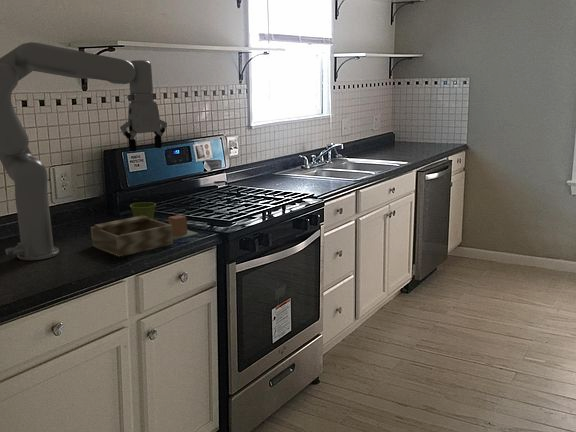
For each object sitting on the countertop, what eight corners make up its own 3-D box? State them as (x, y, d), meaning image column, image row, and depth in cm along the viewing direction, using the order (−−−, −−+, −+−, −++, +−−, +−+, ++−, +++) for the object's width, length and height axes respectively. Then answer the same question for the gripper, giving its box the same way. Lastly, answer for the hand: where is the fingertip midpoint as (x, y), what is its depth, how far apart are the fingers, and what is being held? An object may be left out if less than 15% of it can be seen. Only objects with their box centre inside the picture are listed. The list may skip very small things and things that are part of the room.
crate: (119, 256, 204) (117, 234, 203) (92, 246, 217) (90, 224, 216) (173, 244, 217) (171, 222, 216) (145, 234, 230) (143, 214, 229)
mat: (174, 240, 222) (174, 238, 222) (158, 234, 230) (158, 233, 229) (198, 234, 229) (198, 233, 229) (182, 229, 236) (182, 228, 236)
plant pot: (146, 223, 247) (144, 200, 245) (162, 226, 241) (161, 203, 239) (126, 228, 240) (124, 205, 238) (142, 232, 234) (140, 208, 232)
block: (176, 236, 226) (175, 219, 224) (169, 233, 229) (168, 217, 228) (187, 233, 229) (186, 216, 227) (180, 231, 232) (179, 214, 231)
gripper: (124, 100, 210) (128, 153, 214) (170, 97, 221) (173, 147, 225) (113, 99, 215) (117, 151, 219) (158, 96, 226) (161, 145, 230)
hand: (145, 149), depth 222 cm, fingers open, 9 cm apart
